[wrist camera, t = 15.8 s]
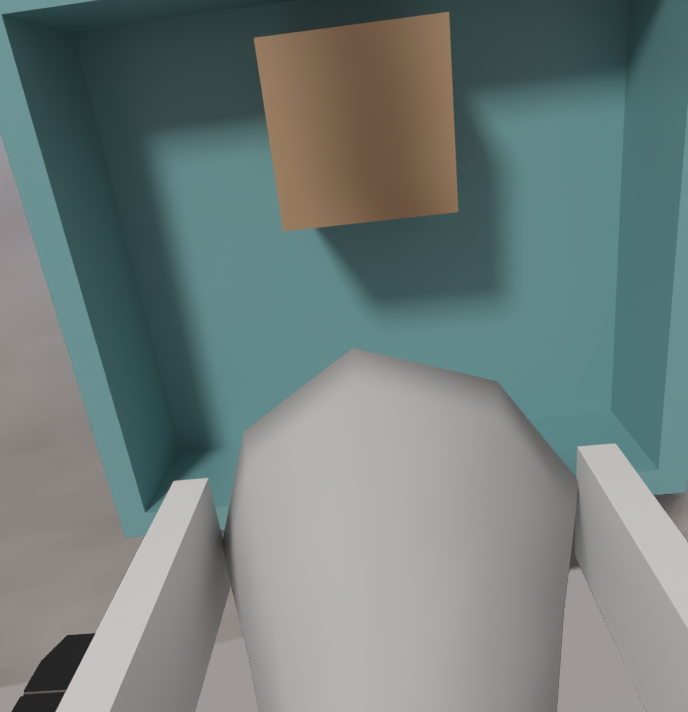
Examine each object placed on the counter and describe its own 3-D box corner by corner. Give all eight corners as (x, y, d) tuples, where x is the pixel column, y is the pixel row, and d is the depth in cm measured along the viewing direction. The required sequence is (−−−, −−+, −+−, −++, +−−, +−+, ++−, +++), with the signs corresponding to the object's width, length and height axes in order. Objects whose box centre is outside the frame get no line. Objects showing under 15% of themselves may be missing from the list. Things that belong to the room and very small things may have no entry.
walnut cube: (299, 205, 22) (283, 231, 18) (278, 52, 21) (253, 38, 16) (438, 189, 22) (458, 212, 17) (429, 32, 20) (448, 12, 16)
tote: (165, 464, 28) (125, 537, 23) (43, 4, 21) (-48, -24, 16) (629, 423, 26) (686, 492, 21) (658, -86, 19) (751, -146, 15)
